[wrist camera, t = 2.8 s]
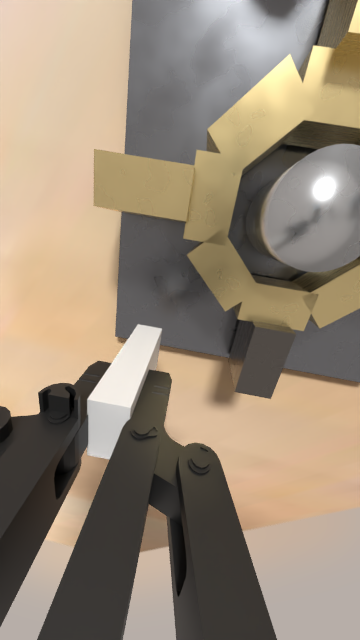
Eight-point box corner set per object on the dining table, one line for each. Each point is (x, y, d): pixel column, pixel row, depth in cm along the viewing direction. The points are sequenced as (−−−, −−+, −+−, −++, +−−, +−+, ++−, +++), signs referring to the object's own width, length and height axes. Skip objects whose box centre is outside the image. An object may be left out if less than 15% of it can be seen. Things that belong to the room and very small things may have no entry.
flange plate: (571, 18, 11) (1001, -228, 5) (364, 377, 20) (436, 442, 14) (140, -39, 12) (76, -316, 6) (119, 331, 20) (83, 374, 14)
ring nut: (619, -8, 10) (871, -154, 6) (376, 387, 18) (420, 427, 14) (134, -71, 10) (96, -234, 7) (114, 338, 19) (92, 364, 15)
